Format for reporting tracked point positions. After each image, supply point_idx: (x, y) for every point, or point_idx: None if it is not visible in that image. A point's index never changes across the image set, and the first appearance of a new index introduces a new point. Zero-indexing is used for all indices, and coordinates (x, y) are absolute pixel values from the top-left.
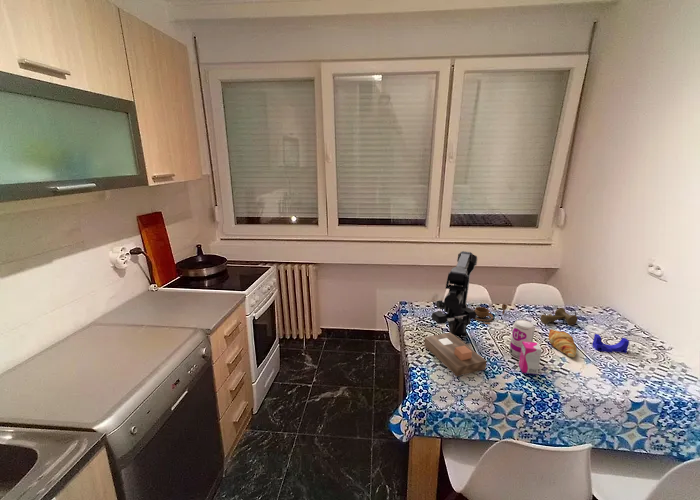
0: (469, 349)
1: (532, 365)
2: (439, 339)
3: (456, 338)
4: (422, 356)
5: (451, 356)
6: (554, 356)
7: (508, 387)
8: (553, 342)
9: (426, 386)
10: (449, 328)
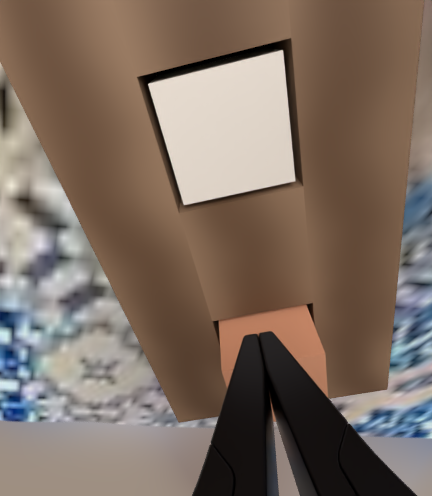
0: (327, 394)
1: None
2: (171, 81)
3: (393, 86)
4: (3, 200)
5: (184, 345)
6: None
7: (364, 425)
8: None
9: (19, 410)
10: (224, 398)
